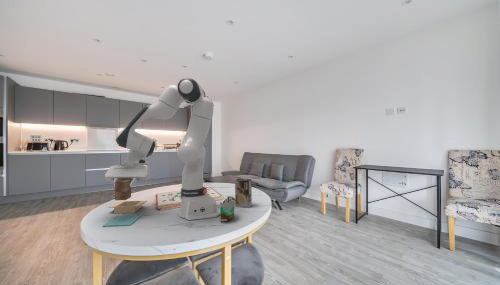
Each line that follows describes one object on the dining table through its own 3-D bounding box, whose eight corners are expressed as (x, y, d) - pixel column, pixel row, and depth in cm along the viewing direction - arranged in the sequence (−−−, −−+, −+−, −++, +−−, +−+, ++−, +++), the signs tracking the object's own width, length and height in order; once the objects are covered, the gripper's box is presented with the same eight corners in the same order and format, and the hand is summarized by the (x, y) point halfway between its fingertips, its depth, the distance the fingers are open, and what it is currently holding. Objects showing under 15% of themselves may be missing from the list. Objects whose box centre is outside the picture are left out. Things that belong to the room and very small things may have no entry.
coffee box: (252, 204, 119) (252, 179, 119) (249, 207, 113) (249, 181, 113) (238, 203, 122) (238, 178, 122) (234, 206, 115) (234, 180, 115)
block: (131, 197, 96) (131, 179, 96) (126, 200, 91) (126, 181, 91) (120, 197, 96) (120, 179, 96) (114, 200, 91) (115, 181, 91)
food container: (231, 224, 90) (232, 203, 90) (219, 223, 91) (219, 202, 91) (238, 215, 102) (238, 196, 102) (227, 214, 103) (227, 195, 103)
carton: (147, 206, 115) (147, 200, 115) (140, 212, 105) (140, 206, 105) (118, 207, 113) (118, 201, 113) (108, 213, 102) (108, 207, 102)
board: (141, 215, 100) (141, 214, 100) (130, 225, 88) (130, 224, 88) (117, 216, 99) (117, 215, 99) (102, 226, 87) (102, 225, 87)
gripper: (109, 160, 99) (96, 183, 89) (150, 161, 102) (142, 183, 92) (114, 168, 103) (102, 190, 94) (153, 168, 106) (146, 190, 96)
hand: (122, 187), depth 93 cm, fingers closed on block, 5 cm apart
